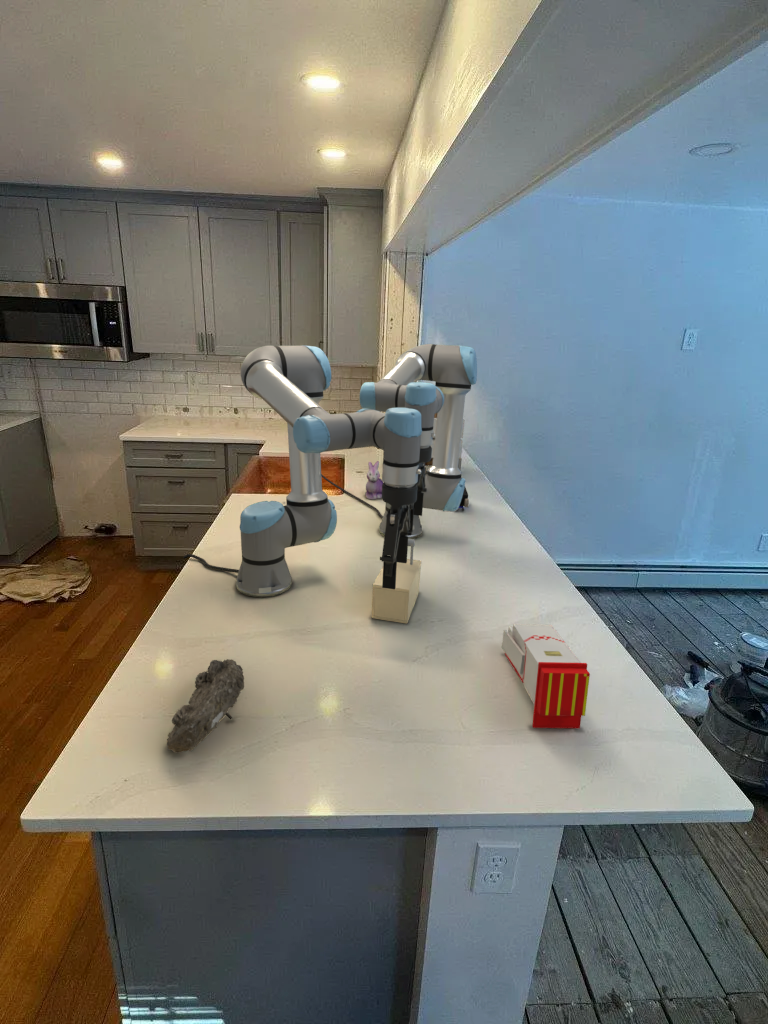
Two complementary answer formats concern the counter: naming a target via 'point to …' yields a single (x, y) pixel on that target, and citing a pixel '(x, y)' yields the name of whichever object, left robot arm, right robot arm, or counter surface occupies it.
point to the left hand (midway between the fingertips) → (395, 574)
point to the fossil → (206, 705)
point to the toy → (548, 674)
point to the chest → (394, 602)
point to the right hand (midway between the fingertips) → (412, 523)
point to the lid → (402, 572)
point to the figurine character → (464, 500)
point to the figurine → (373, 482)
